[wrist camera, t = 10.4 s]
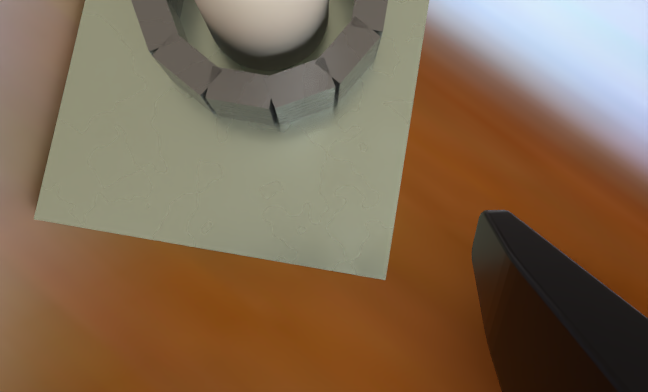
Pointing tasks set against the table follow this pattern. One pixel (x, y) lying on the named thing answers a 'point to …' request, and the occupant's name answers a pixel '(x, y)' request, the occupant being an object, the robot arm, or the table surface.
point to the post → (266, 30)
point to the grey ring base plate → (237, 135)
